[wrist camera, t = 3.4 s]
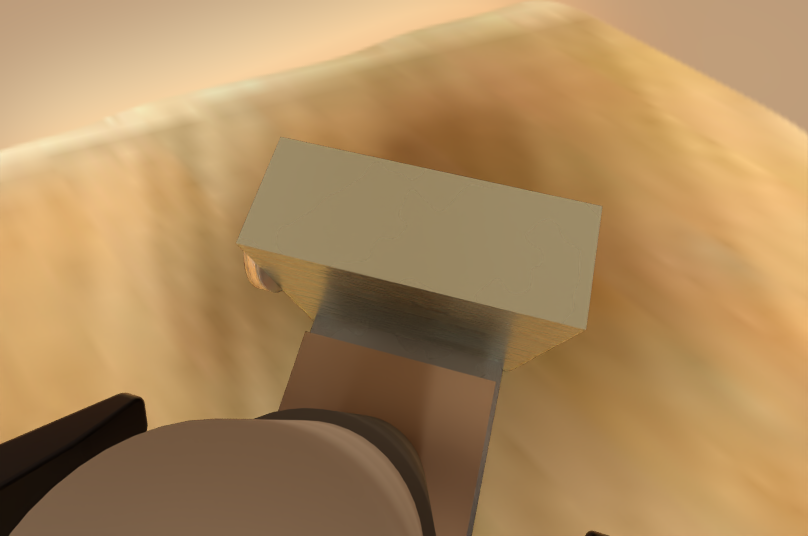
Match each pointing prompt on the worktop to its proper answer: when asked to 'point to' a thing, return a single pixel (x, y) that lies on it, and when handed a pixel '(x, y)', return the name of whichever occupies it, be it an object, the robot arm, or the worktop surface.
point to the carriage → (295, 460)
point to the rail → (422, 260)
